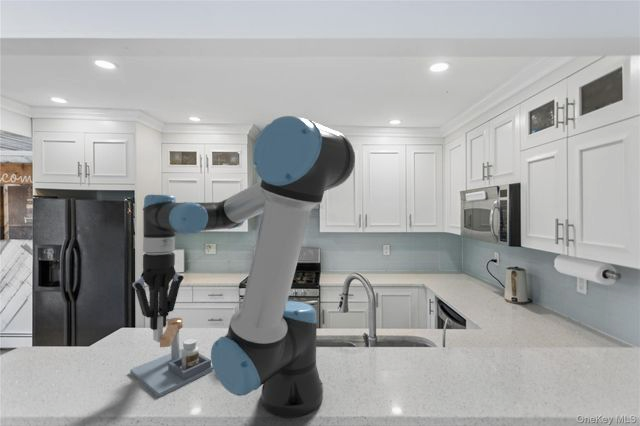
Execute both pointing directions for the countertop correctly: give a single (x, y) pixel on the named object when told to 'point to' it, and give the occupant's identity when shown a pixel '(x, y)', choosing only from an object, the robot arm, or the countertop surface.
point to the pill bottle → (190, 354)
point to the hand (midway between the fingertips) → (158, 340)
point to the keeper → (170, 332)
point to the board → (170, 371)
